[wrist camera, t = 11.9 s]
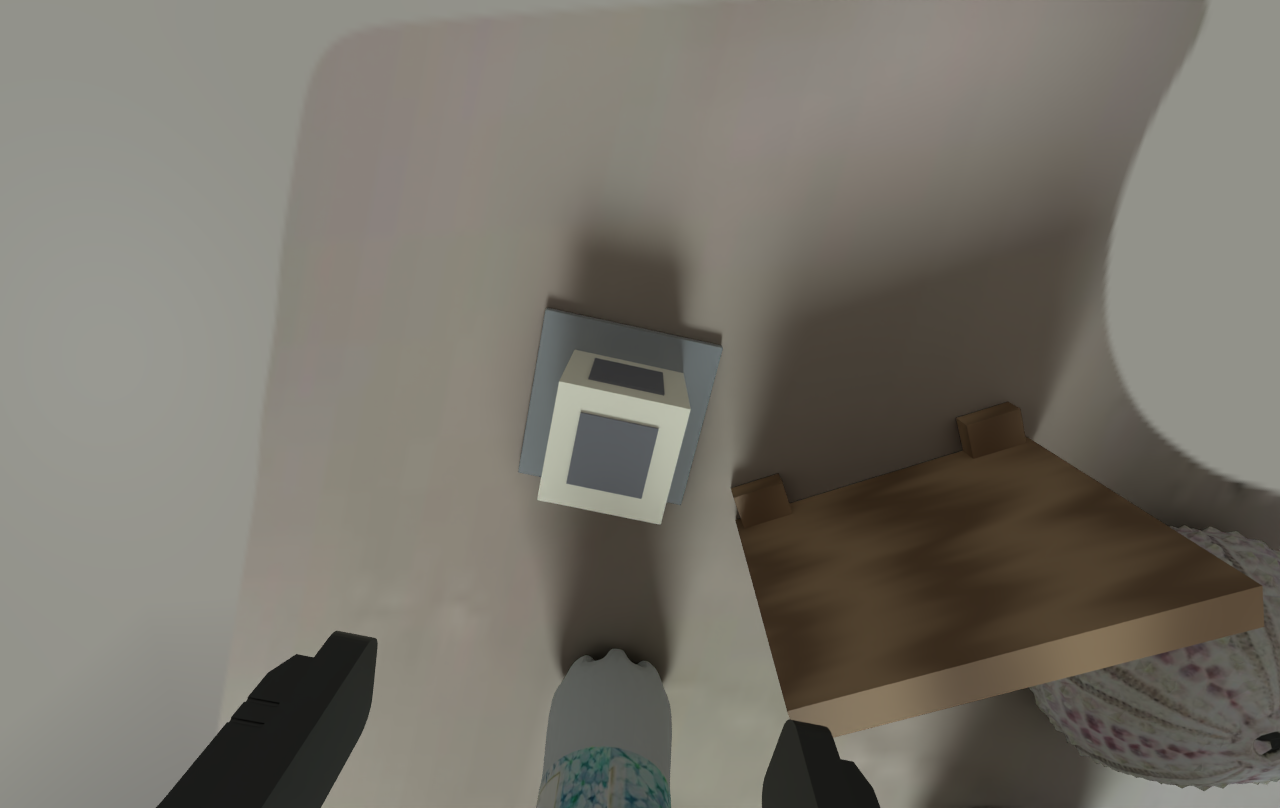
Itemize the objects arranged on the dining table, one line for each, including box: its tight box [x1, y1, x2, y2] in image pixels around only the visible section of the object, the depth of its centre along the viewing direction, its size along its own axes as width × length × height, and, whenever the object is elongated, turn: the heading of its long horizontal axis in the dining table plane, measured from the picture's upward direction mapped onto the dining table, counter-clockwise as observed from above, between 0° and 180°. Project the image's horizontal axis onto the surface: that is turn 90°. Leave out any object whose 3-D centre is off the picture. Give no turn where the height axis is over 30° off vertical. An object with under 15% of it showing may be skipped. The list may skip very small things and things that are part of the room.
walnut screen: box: [731, 402, 1264, 737], centre depth 24 cm, size 14×5×12 cm, turn 110°
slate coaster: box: [518, 308, 723, 505], centre depth 28 cm, size 8×8×1 cm
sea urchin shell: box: [1028, 525, 1280, 791], centre depth 28 cm, size 13×14×8 cm
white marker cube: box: [537, 350, 691, 525], centre depth 26 cm, size 5×5×5 cm
